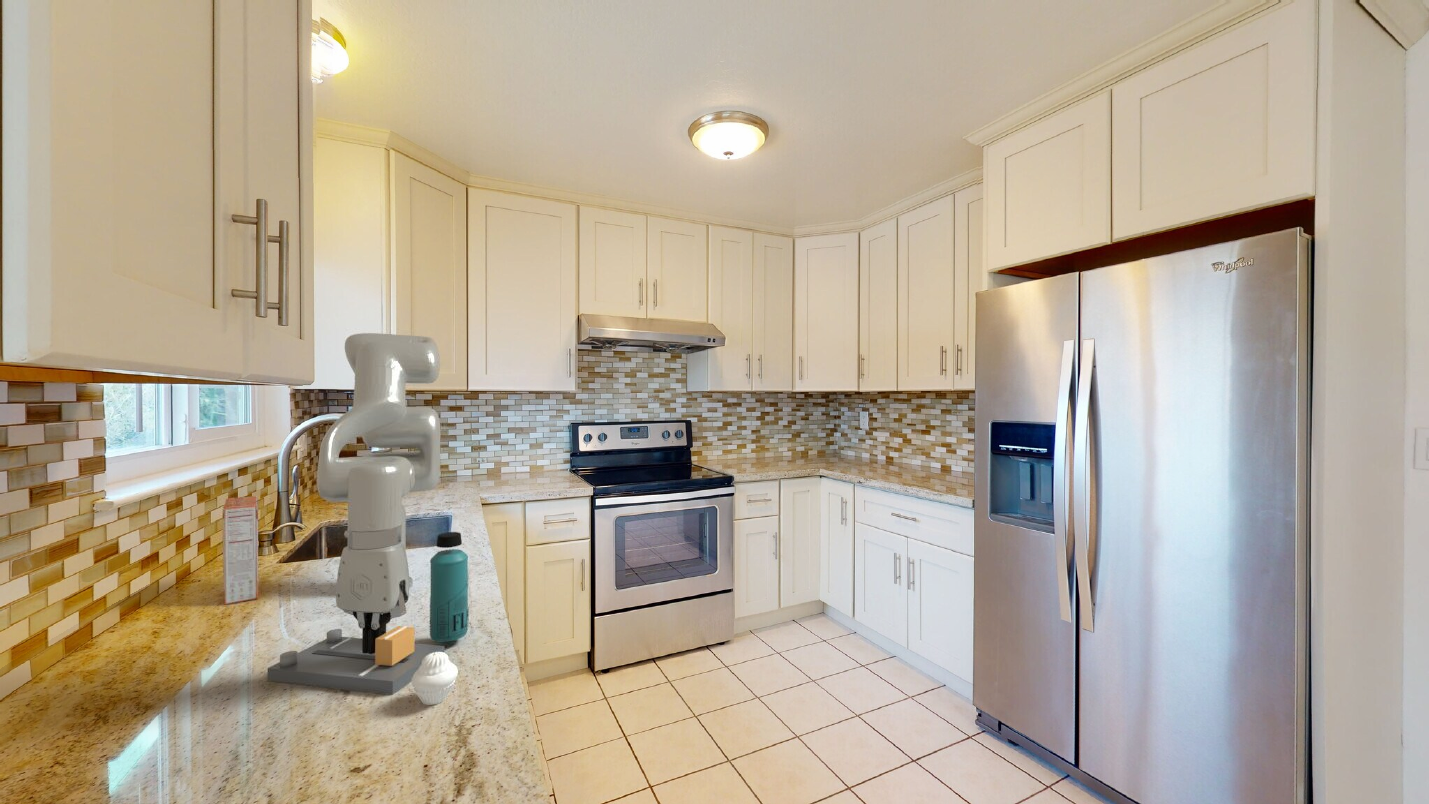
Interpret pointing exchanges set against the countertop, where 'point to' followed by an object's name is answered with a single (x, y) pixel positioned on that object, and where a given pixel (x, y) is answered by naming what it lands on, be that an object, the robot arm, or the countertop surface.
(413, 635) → the fader tab
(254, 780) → the countertop surface
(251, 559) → the cracker box
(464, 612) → the beverage bottle
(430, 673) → the muffin
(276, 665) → the console board
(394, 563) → the robot arm
